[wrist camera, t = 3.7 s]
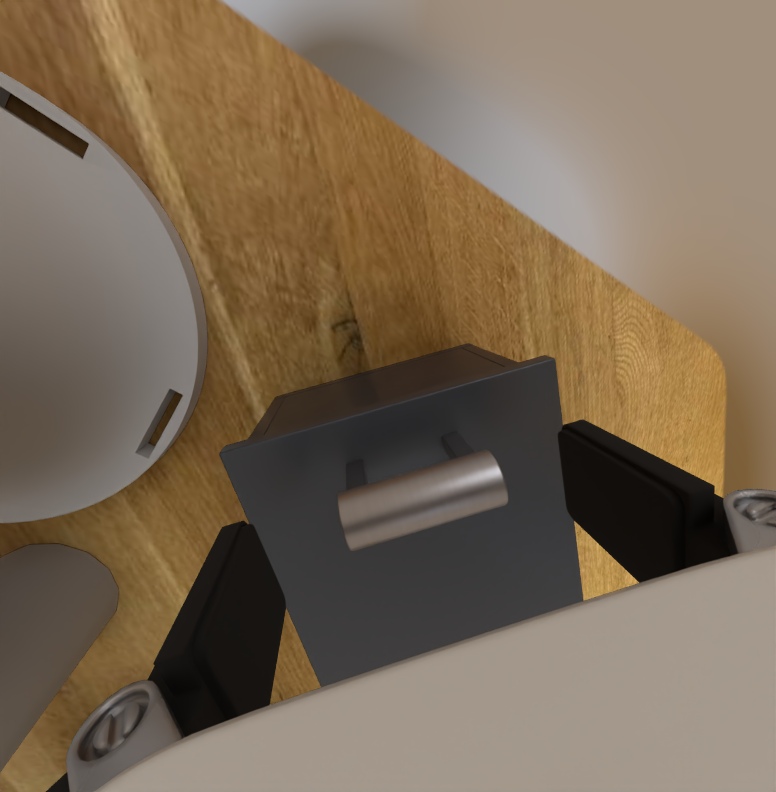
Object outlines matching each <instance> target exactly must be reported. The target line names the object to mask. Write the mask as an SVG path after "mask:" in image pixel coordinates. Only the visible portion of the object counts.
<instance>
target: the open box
mask: <svg viewBox="0 0 776 792" xmlns="http://www.w3.org/2000/svg"><path fill="white" fill-rule="evenodd" d="M516 363H518V362H516V361H513V360H510V359H508V358H505V357H503V356H500V355H497V354H495V353H492V352H490V351H487V350H484V349H482V348H479V347H477V346H474V345H472V344H469V343H468V344H464V345H460V346H457V347H453V348H450V349H446V350H443V351H439V352H435V353H432V354H428V355H425V356H421V357H417V358H414V359H410V360H407V361H403V362H399V363H396V364H392V365H389V366H385V367H382V368H378V369H374V370H371V371H367V372H364V373H360V374H356V375H353V376H349V377H346V378H342V379H338V380H335V381H331V382H328V383H324V384H320V385H317V386H313V387H310V388H306V389H303V390H299V391H295V392H292V393H288V394H285V395H281V396H277V397H275V399H274V400H273V402H272V403H271V405H270V406H269V408H268V409H267V411H266V413H265V414H264V416H263V417H262V419H261V420H260V422H259V423H258V425H257V426H256V428H255V429H254V431H253V432H252V434H251V435H250V437H249V438H248V439H251V438H254V437H258V436H261V435H265V434H268V433H272V432H276V431H279V430H283V429H286V428H290V427H293V426H297V425H300V424H304V423H307V422H311V421H314V420H318V419H321V418H325V417H328V416H332V415H336V414H339V413H343V412H346V411H350V410H353V409H357V408H360V407H364V406H367V405H371V404H374V403H378V402H381V401H385V400H389V399H392V398H396V397H399V396H403V395H406V394H410V393H413V392H417V391H420V390H424V389H427V388H431V387H434V386H438V385H442V384H445V383H449V382H452V381H456V380H459V379H463V378H466V377H470V376H473V375H477V374H480V373H484V372H487V371H491V370H495V369H498V368H502V367H505V366H509V365H512V364H516Z"/></svg>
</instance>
